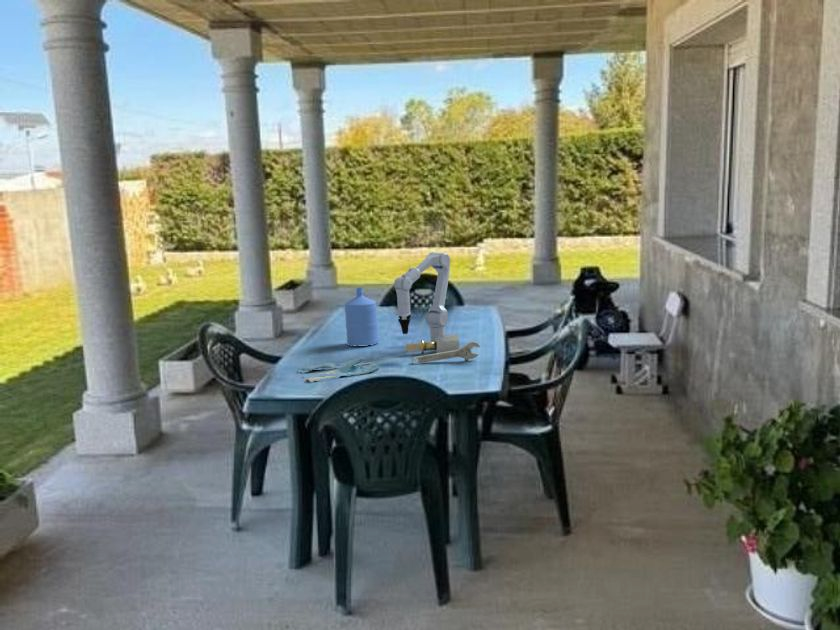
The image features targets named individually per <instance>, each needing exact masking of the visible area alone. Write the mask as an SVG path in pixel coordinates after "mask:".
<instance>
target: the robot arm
mask: <svg viewBox="0 0 840 630" xmlns="http://www.w3.org/2000/svg"><path fill="white" fill-rule="evenodd" d="M450 265H451V257H450V255H449V254H448V252H433V251H432V252H430V253H428V254H427V255H426V256H425V258H424V260H422V261H421V262H420V263H419V264H418V265H417V266H416V267H409V269H408V270H407V271H406V272H405V273H403V274H402V276H400V277H397V278H396V279H394V283H393V288H394V289H395V292H396V298H397V299H396V300H397V312H395V315H396V316H398V318H397V319H398V320H397V321H398V322H399V325H400V328H401V331H402V334H403V335H408V332H409V327H410V322H411V316H412V315H411V314H412V312H411V301H410V300H411V298H410V296H411V295H410V290H411V288H412V286H413V284H414V283H415V282H417V280H419V279H420V278H421V274H422V273H423V272H425V271H426V270H427V269H429V268H430V267H432V268H433V270H435V271H436V272H437V278H436V284H435V289H434V297H433V303H432V305H431V306H430V307H429V308H428V312H427V313H426V315H425V321H426V323H427V324H428V326H429V336H430V339H429V340H430V341H431V342H436V335H446V326H447V324H448V321H449V317H448V310H447V309H446V307H445V303H446V297H447V291H448V285H449V279H450V271H451V270H450V269H451V268H450ZM430 341H429V342H430Z"/></svg>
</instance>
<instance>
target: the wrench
mask: <svg viewBox="0 0 840 630" xmlns="http://www.w3.org/2000/svg"><path fill="white" fill-rule="evenodd" d="M474 347H475V348H478V349H479V348H481V345H480V344H479V343H478V342H476V341H469V342H468V343H466V344H465V345H463V346H462V347H459V349H457V350H454V351H448V352H442V353H437V352H436V353H431V354H430V353H429V354H425V355H424V354H423V355H419V356H414V357H412V359H411V362H412V364H413V365H419V364H418V363H420V364H424V363H428V362H429V363H431V362H435V361H440V360H447V359H451V358H457V357H458V358H461V359H464V361H466V360H467V362H469V361H470V360H472V359H473V360H474V359H476V358H477V357H479V354H478V353H476V352H472V349H473V348H474ZM415 359H417V360H418V361H417V362H414V360H415ZM416 363H417V364H416Z"/></svg>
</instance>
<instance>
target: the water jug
mask: <svg viewBox="0 0 840 630" xmlns="http://www.w3.org/2000/svg"><path fill="white" fill-rule="evenodd" d="M355 290H356V292H355V293H356V297H354V298H352V299H350V300H348V301H346V302H345V303H344V313H345V330H346V344H347V343H348V344H349V345H356V346H359V345H371V344H375V343H377V344H379V342H380V341H379V339H380V338H379V331H378V330H379V328H378V326H379V325H378V317H377V315H378V314H377V313H378V312H377V302H376V301H375V300H374V299H371V298H368V297H367V296H364V293H363V292H364V291H363V287H356V288H355ZM348 344H347V345H348ZM349 345H348V346H349Z"/></svg>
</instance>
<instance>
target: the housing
mask: <svg viewBox="0 0 840 630" xmlns="http://www.w3.org/2000/svg"><path fill="white" fill-rule="evenodd" d="M436 342H437V350H436V353H442V352H448V351H454V350H457V349H459V348H460V338H459V336H458V334H457V333H456V334H455V333H453V334H452V333H451V334H445V335H436Z"/></svg>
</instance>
